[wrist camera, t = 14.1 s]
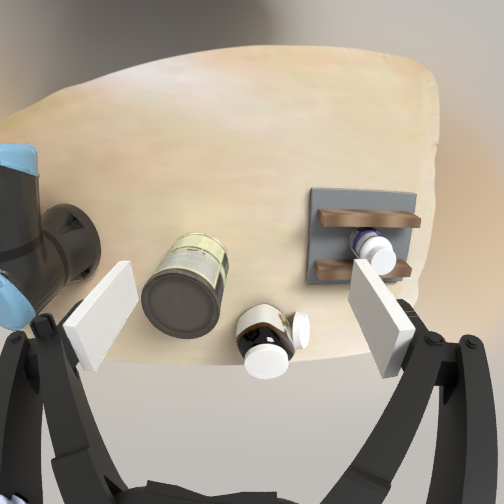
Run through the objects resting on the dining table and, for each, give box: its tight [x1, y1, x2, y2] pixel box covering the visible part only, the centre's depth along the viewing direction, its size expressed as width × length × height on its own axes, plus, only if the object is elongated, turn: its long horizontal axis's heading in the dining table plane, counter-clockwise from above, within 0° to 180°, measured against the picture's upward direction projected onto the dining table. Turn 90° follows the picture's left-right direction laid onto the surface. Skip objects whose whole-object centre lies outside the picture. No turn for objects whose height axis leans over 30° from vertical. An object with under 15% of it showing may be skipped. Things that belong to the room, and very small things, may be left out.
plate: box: [307, 188, 417, 285], centre depth 45 cm, size 18×16×1 cm
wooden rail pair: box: [315, 209, 421, 280], centre depth 42 cm, size 16×10×4 cm, turn 91°
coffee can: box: [141, 233, 229, 339], centre depth 41 cm, size 10×10×14 cm
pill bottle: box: [349, 227, 396, 275], centre depth 40 cm, size 5×5×9 cm
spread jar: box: [236, 304, 309, 379], centre depth 47 cm, size 12×11×12 cm
